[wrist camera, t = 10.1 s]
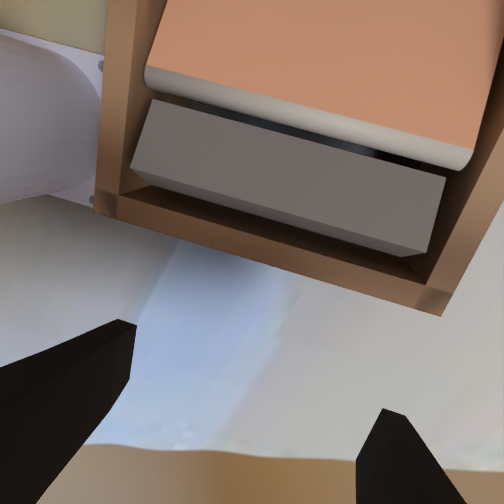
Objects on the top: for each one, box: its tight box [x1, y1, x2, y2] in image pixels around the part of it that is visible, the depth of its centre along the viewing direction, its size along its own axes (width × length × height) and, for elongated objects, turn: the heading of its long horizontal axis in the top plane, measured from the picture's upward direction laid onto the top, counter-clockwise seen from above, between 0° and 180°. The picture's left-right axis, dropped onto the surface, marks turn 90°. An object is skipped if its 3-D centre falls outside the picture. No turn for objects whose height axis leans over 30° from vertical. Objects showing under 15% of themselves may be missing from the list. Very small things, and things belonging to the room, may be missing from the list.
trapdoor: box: [130, 0, 504, 257], centre depth 12 cm, size 16×11×2 cm
